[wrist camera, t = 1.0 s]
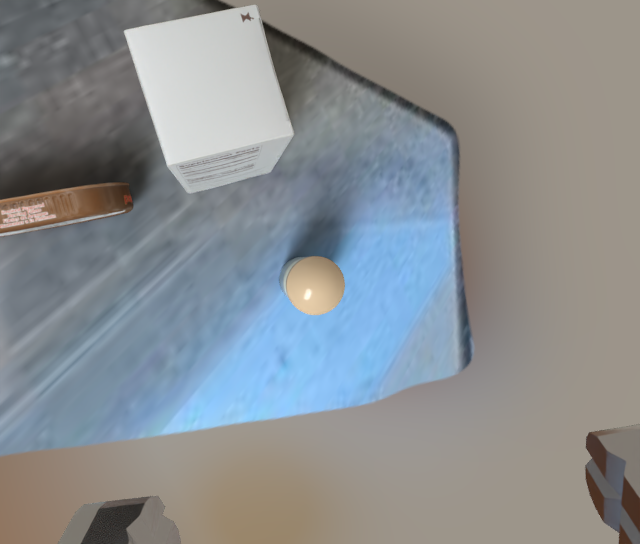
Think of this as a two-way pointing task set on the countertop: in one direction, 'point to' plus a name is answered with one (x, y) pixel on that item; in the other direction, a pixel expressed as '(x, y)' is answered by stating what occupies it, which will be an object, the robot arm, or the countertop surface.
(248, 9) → the supplement box
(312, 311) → the jar
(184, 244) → the countertop surface
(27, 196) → the tin
